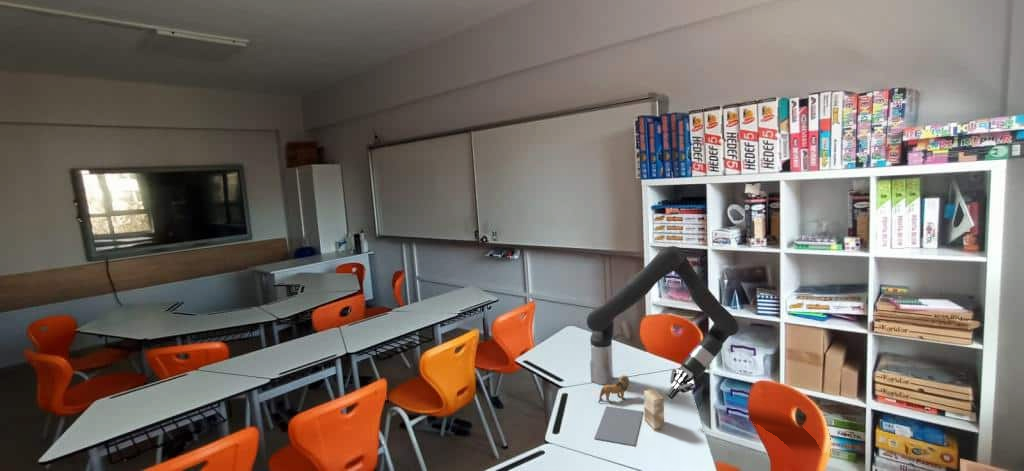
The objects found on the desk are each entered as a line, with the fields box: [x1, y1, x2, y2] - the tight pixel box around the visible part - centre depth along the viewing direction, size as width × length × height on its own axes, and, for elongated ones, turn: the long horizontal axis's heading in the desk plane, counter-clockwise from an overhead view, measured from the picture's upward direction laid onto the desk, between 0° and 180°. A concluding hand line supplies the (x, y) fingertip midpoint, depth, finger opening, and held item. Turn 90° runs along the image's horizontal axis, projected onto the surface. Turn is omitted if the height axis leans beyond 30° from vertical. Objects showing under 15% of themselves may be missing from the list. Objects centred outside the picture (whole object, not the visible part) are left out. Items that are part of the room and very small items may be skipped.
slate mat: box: [593, 405, 644, 447], centre depth 170 cm, size 14×22×1 cm, turn 157°
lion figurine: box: [598, 374, 630, 404], centre depth 188 cm, size 15×5×9 cm, turn 112°
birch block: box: [643, 388, 665, 432], centre depth 168 cm, size 4×7×12 cm, turn 12°
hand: (668, 396), depth 169 cm, fingers closed
